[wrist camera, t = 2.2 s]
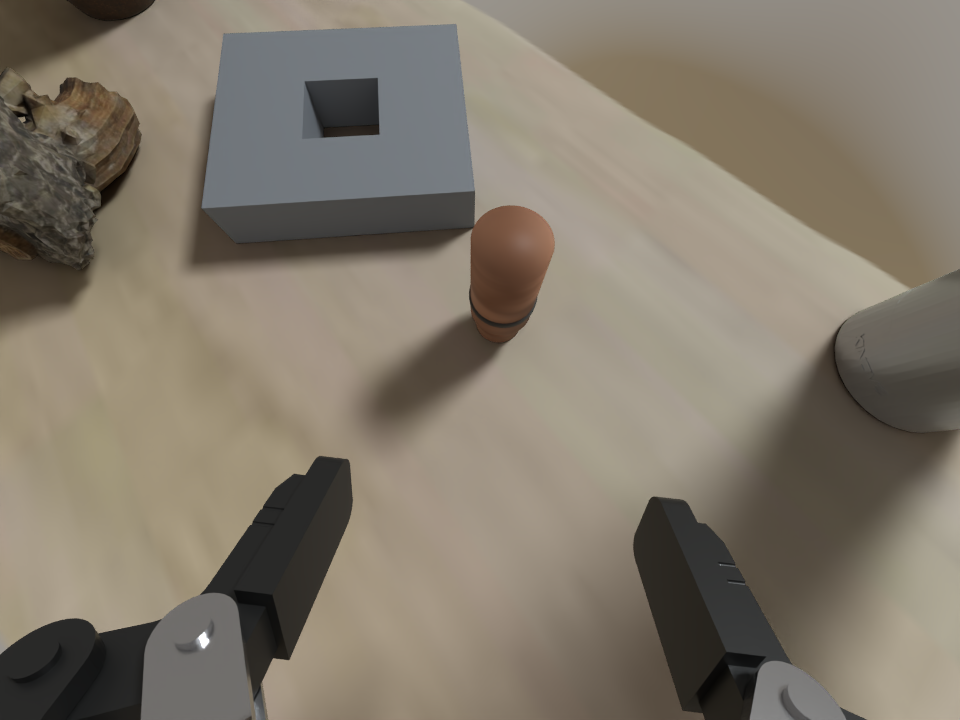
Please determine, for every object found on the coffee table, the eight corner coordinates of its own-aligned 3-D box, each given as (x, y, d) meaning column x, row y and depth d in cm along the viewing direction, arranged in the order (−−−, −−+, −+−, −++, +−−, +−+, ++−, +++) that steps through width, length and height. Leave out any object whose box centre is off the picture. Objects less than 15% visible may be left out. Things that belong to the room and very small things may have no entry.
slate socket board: (457, 73, 35) (456, 24, 31) (474, 227, 30) (474, 191, 27) (251, 83, 34) (223, 33, 30) (236, 243, 30) (201, 208, 26)
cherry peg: (523, 293, 29) (549, 201, 19) (530, 346, 28) (562, 276, 18) (466, 297, 29) (465, 207, 19) (472, 351, 28) (473, 283, 18)
